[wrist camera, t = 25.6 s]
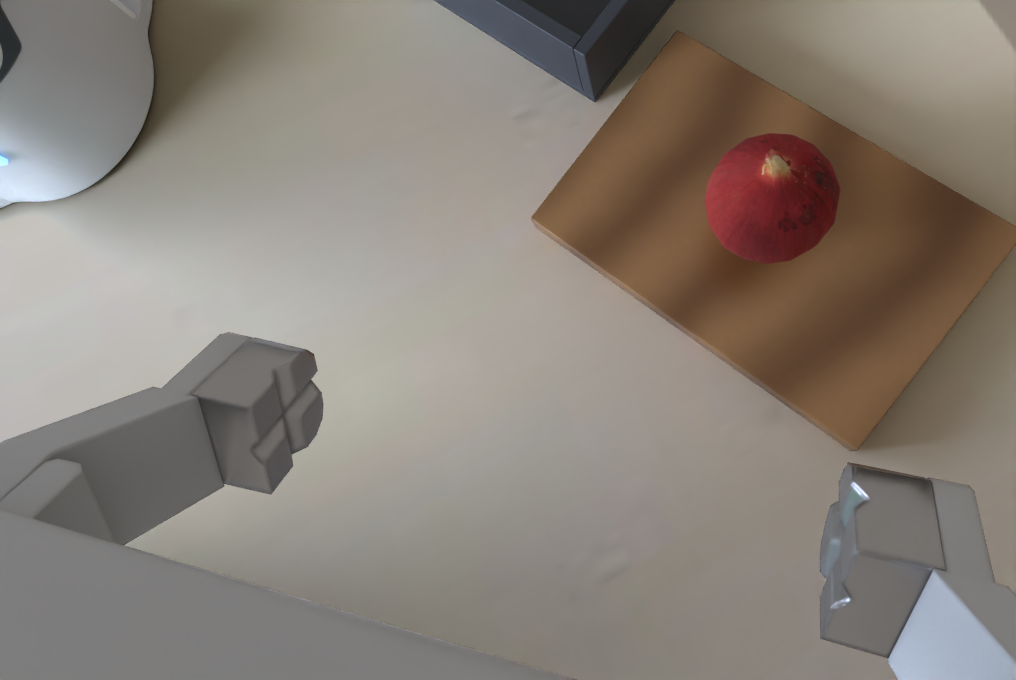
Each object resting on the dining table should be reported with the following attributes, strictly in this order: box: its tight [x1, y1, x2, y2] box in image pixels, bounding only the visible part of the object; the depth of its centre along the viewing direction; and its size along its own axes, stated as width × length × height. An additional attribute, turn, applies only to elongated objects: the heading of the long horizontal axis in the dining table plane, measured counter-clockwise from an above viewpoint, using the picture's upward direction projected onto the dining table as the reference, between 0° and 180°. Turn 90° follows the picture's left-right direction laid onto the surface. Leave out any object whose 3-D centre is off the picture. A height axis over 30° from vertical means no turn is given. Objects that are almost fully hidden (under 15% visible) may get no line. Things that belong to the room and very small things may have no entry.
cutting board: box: [531, 30, 1016, 451], centre depth 40 cm, size 20×13×2 cm, turn 51°
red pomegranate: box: [704, 133, 841, 264], centre depth 36 cm, size 6×6×8 cm
